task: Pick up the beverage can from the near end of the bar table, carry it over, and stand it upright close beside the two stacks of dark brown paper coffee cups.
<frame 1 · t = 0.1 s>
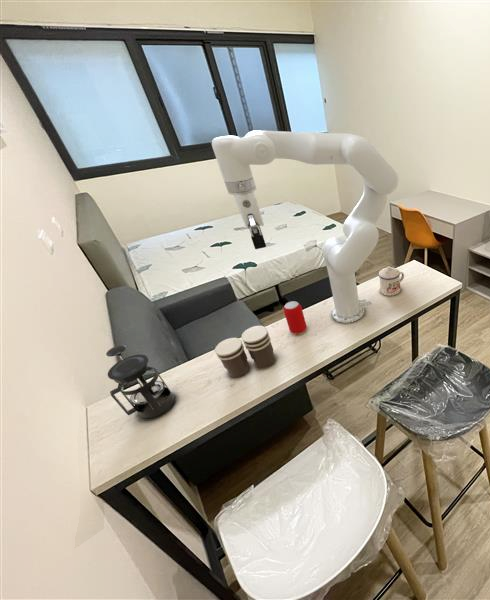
hand: (259, 242, 100), 37 cm above the table, tool pointing down, fingers open, 9 cm apart
beverage can: (299, 330, 121), on the table
french press: (156, 407, 95), on the table
teacup with lid: (393, 289, 142), on the table
cup stacks: (252, 365, 107), on the table
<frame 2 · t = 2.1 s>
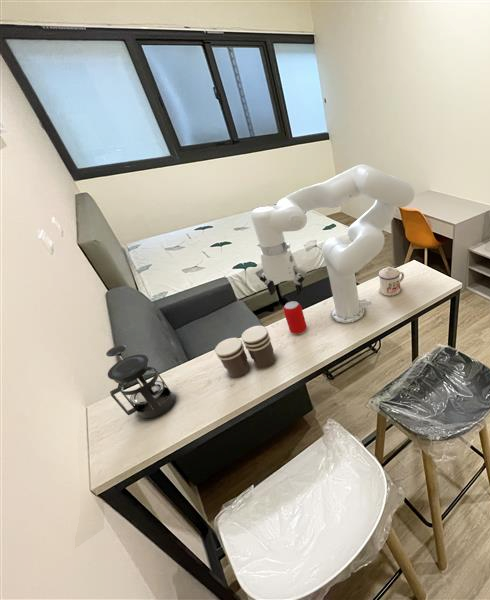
hand: (286, 292, 112), 17 cm above the table, tool pointing down, fingers open, 9 cm apart
nothing on the table moved.
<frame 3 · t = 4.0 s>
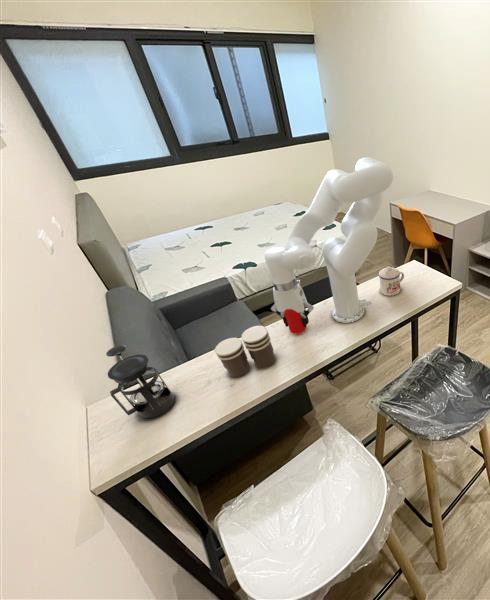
hand: (297, 324, 120), 3 cm above the table, tool pointing down, fingers closed on beverage can, 6 cm apart
beverage can: (299, 330, 121), on the table, touching gripper
everything else where it was.
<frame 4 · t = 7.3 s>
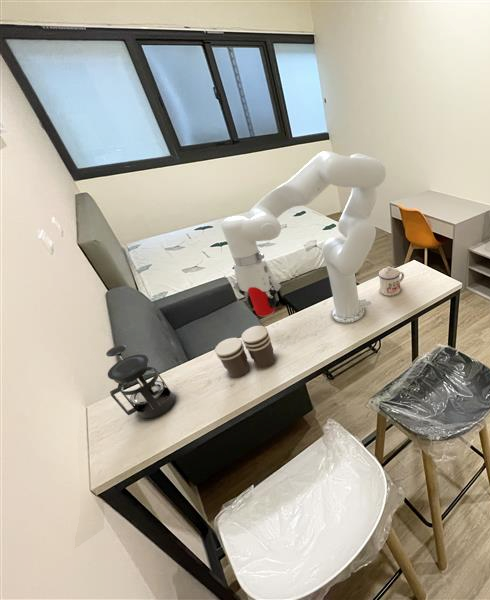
hand: (263, 305, 108), 16 cm above the table, tool pointing down, fingers closed on beverage can, 6 cm apart
beverage can: (266, 313, 110), point 13 cm above the table, touching gripper
everything else where it was.
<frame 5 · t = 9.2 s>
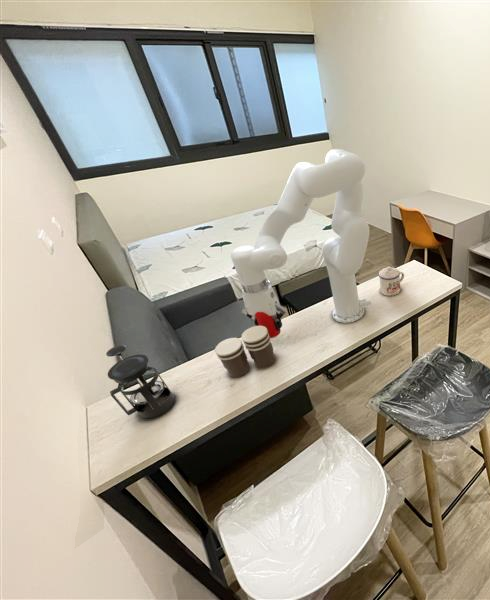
hand: (269, 327, 113), 7 cm above the table, tool pointing down, fingers closed on beverage can, 6 cm apart
beverage can: (272, 334, 115), point 3 cm above the table, touching gripper
everything else where it was.
when the fingers open (3 cm above the table, at t = 10.6 s): beverage can stays where it is, on the table.
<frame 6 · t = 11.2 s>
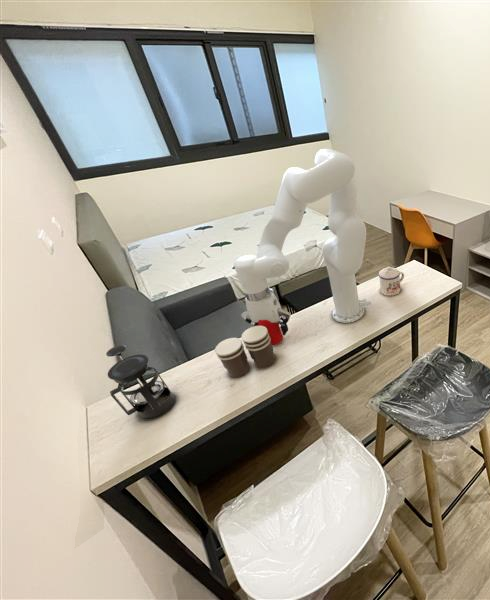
hand: (272, 332, 115), 4 cm above the table, tool pointing down, fingers open, 9 cm apart
beverage can: (275, 342, 117), on the table
everything else where it was.
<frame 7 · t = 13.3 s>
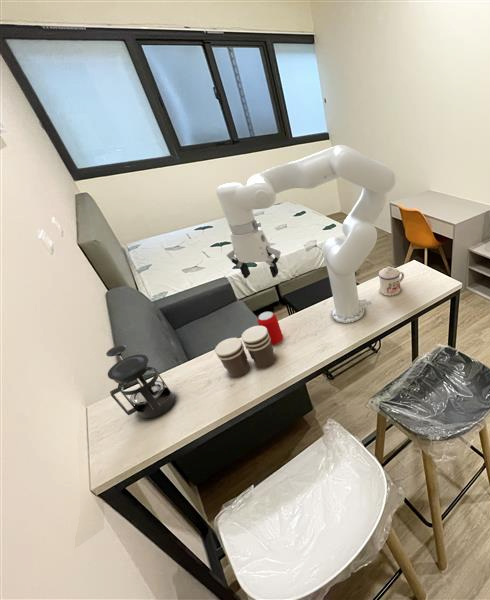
hand: (261, 275, 107), 25 cm above the table, tool pointing down, fingers open, 9 cm apart
nothing on the table moved.
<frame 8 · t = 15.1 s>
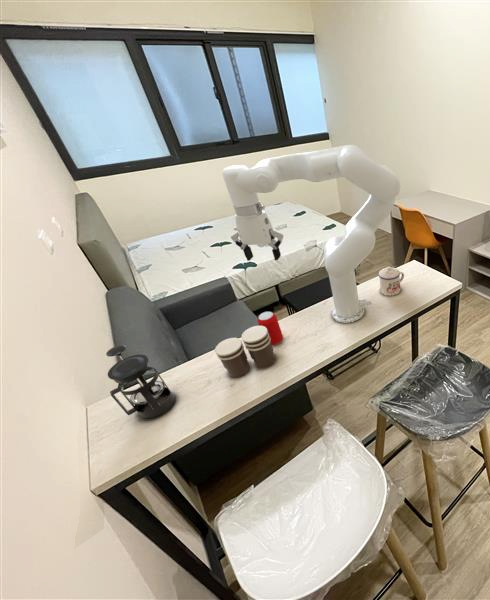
hand: (264, 258, 109), 28 cm above the table, tool pointing down, fingers open, 9 cm apart
nothing on the table moved.
at the end: beverage can 12.3 cm from the cup stacks (horizontally); beverage can tilted 0°; the gripper is holding nothing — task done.
